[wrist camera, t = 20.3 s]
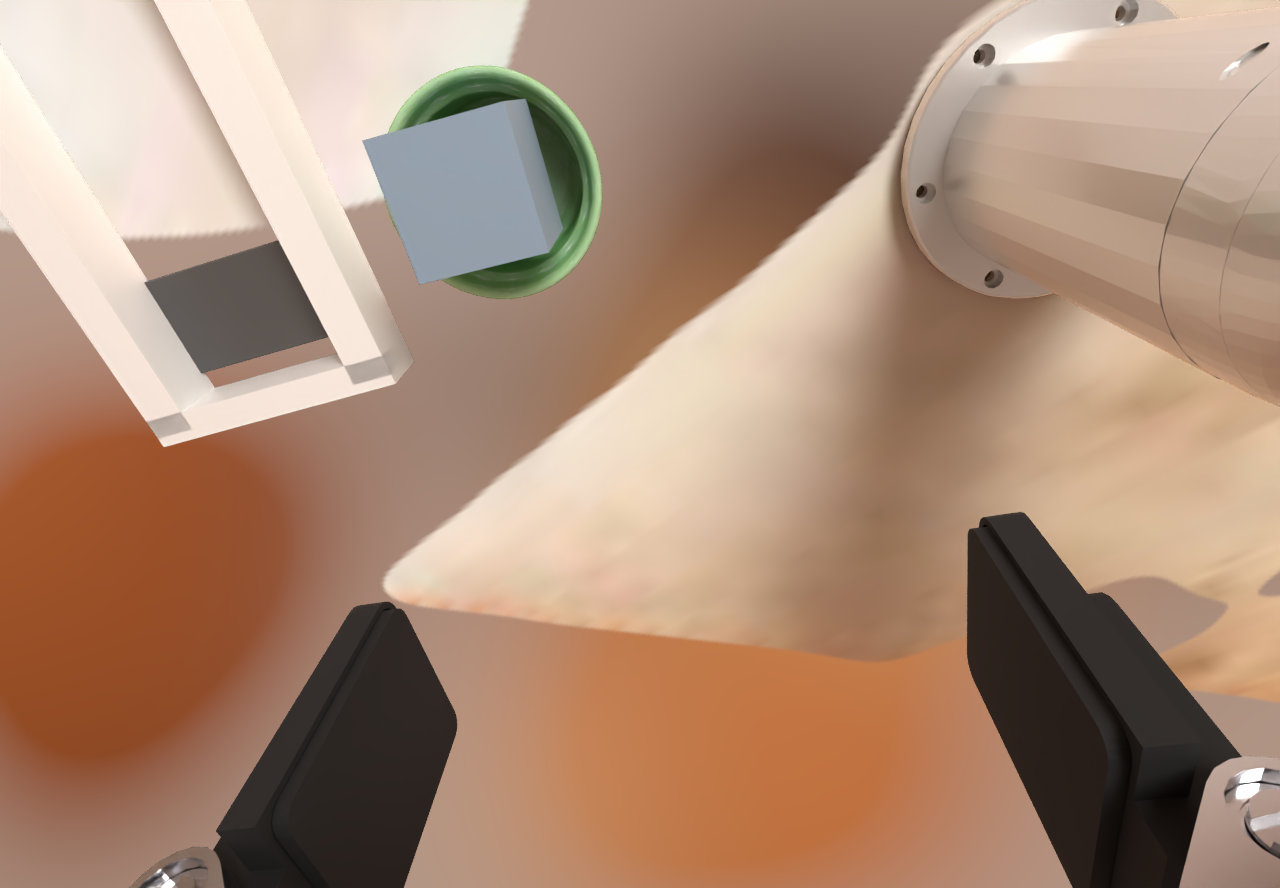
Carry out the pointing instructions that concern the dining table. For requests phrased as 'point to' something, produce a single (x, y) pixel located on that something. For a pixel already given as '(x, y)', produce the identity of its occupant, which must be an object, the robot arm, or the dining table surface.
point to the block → (468, 190)
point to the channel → (217, 290)
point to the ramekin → (563, 158)
